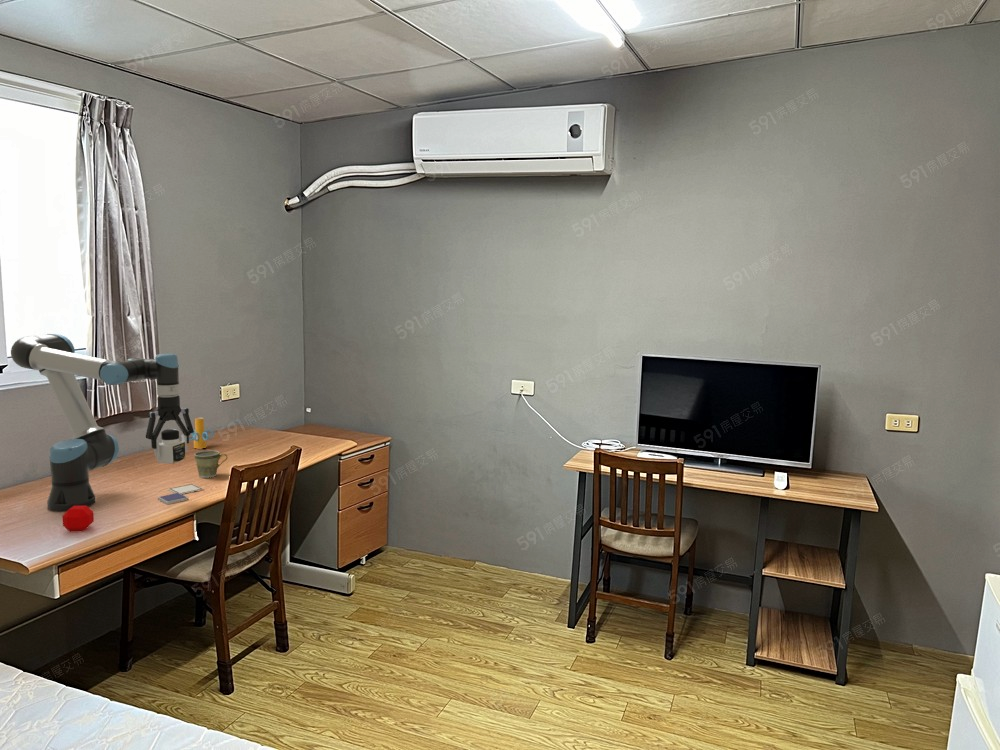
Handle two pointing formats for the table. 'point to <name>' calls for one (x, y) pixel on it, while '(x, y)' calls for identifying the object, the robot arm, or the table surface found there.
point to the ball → (78, 518)
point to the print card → (185, 489)
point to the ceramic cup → (208, 463)
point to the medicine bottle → (171, 447)
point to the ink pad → (172, 498)
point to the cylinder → (200, 434)
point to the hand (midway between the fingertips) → (171, 454)
